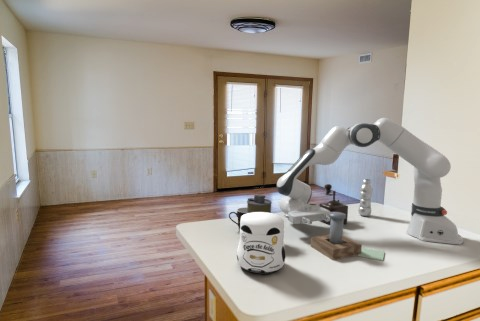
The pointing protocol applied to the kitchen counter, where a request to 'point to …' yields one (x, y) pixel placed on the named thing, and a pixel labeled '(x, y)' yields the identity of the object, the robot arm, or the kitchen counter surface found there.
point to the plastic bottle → (365, 198)
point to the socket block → (335, 247)
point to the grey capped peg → (336, 227)
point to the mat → (372, 254)
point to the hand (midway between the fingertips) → (319, 221)
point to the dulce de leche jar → (261, 242)
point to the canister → (258, 204)
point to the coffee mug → (239, 215)
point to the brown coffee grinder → (334, 205)
